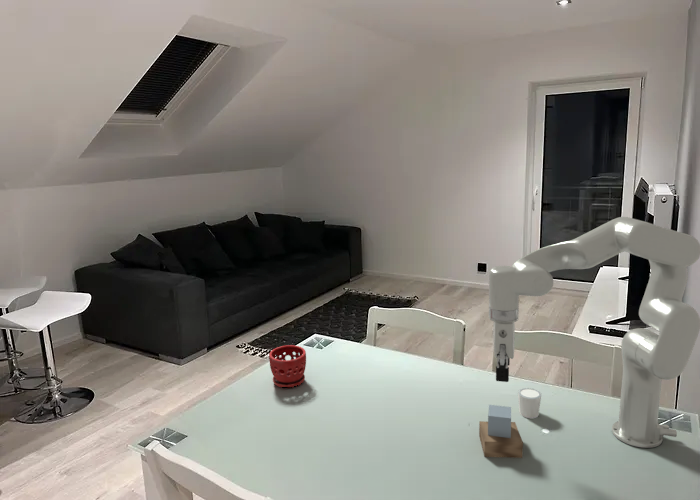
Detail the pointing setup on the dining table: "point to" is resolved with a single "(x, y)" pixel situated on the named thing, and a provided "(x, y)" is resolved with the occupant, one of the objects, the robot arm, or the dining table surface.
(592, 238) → the robot arm
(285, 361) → the plant pot
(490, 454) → the walnut block
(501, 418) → the slate cube
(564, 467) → the dining table surface
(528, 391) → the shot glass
